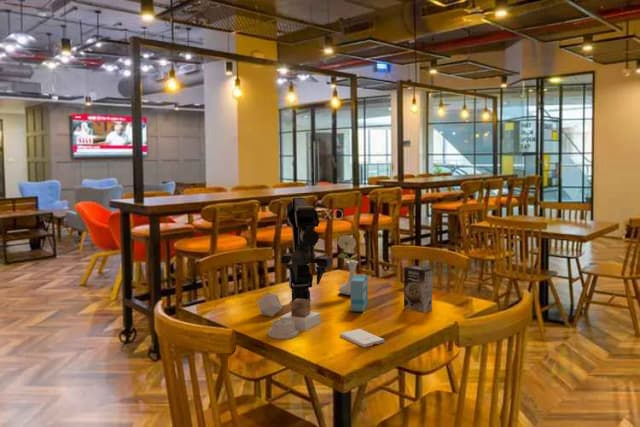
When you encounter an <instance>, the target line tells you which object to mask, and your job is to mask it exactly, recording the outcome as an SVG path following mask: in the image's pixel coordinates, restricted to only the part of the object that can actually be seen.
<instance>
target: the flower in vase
mask: <svg viewBox="0 0 640 427" xmlns="http://www.w3.org/2000/svg"><path fill="white" fill-rule="evenodd" d="M336 243H337V245H338V246H339V248H341V250H342V249H343V250H345V253H342V252H341V253H339V254H338V255H337V258H341V259H346V257H347V259H348V260H347V261H346V264H347V265H348V270H349V271H348V272H349V278H348V280H346V282H345V283H342V285H341V286H340V287H339V289H338V291H339V293H341V294H343V295H346V296H351V280H352V279H353V278H354V277H355V275H356V267H357V265H358V263H359V261H357V260H351V259H354V258H356V257H358V255H359V253H356V254H354V255H353V254H352V256H351V257H349V255H348V252H347V251H350V250H352V249H355V247H356V245H357V241H356V239H355V238H354V237H352V236H351V235H347V234H343V235H342V236H339V237H338V239H337V241H336Z"/></svg>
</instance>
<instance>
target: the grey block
mask: <svg viewBox="0 0 640 427" xmlns="http://www.w3.org/2000/svg"><path fill="white" fill-rule="evenodd" d="M320 318H321V313H320V312H315V311H310V314H309V315H308V316H306V317H305V318H304V317H294V316H291V311H289V312H288V313H285V314H283V315H281V316H279V320H281V319H288V320H289V319H290V320H292V321H294V323H295V328H297V329H298V331H302V332H307V331H309V330H310V329H313V328H314V327H316V326H318V325H320Z"/></svg>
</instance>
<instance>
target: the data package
mask: <svg viewBox="0 0 640 427" xmlns="http://www.w3.org/2000/svg"><path fill="white" fill-rule="evenodd" d="M368 279H369V278H368V275H365V274H364V275H362V274H355V277H354V278H353V279H352V280H351V295H350V311H351V312H355V313H364V311H365V310H366V308H367V306H368V301H369V300H368V299H369V298H368V293H369V292H368V290H369V289H368V285H369V284H368V282H369V281H368Z"/></svg>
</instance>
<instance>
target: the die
mask: <svg viewBox="0 0 640 427" xmlns="http://www.w3.org/2000/svg"><path fill="white" fill-rule="evenodd" d="M256 303H257V306H258V308H259V310H260V314H261V315H262V316H266V317H270V318H272V317H274V316H275V315H277V313H278V312H280V310H282V309H283V305H282V303H281V301H280V298H279V296H278V294H275V293H269V292H266V293H265V294H263V296H262V297H260V298H259V300H258V301H256Z"/></svg>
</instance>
